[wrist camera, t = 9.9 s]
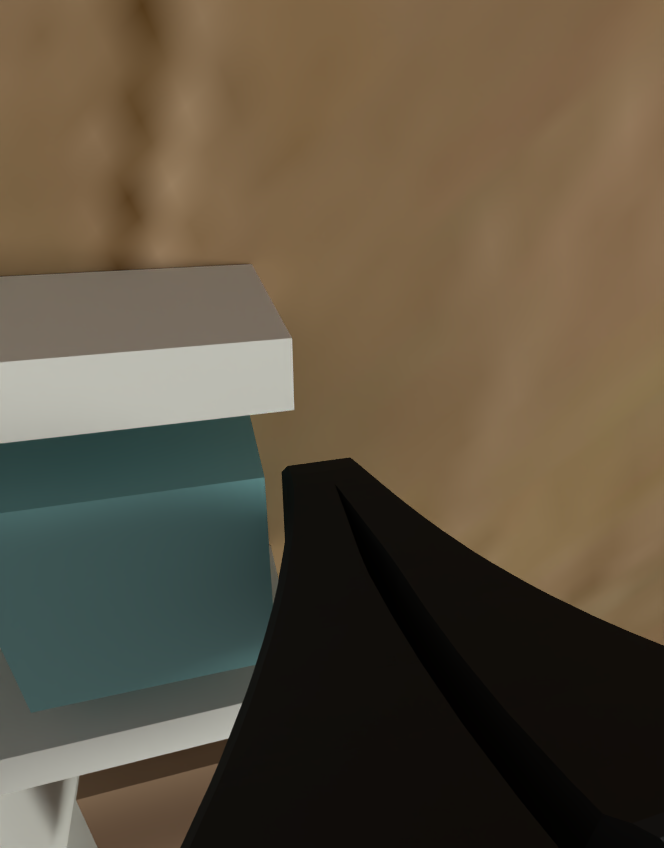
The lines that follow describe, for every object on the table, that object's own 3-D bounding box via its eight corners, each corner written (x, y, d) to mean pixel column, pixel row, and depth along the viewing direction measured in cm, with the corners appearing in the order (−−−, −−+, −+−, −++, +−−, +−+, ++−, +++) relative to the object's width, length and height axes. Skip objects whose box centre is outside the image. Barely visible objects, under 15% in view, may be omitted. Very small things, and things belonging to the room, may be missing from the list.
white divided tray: (282, 727, 17) (310, 882, 14) (33, 789, 16) (-8, 984, 12) (251, 263, 10) (295, 343, 6) (-233, 288, 8) (-549, 415, 5)
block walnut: (264, 690, 16) (288, 837, 13) (128, 721, 15) (116, 888, 12) (256, 600, 14) (282, 746, 11) (100, 630, 13) (75, 799, 10)
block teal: (251, 517, 13) (276, 660, 9) (73, 544, 12) (30, 712, 8) (237, 365, 11) (264, 476, 7) (23, 384, 10) (-59, 521, 6)
